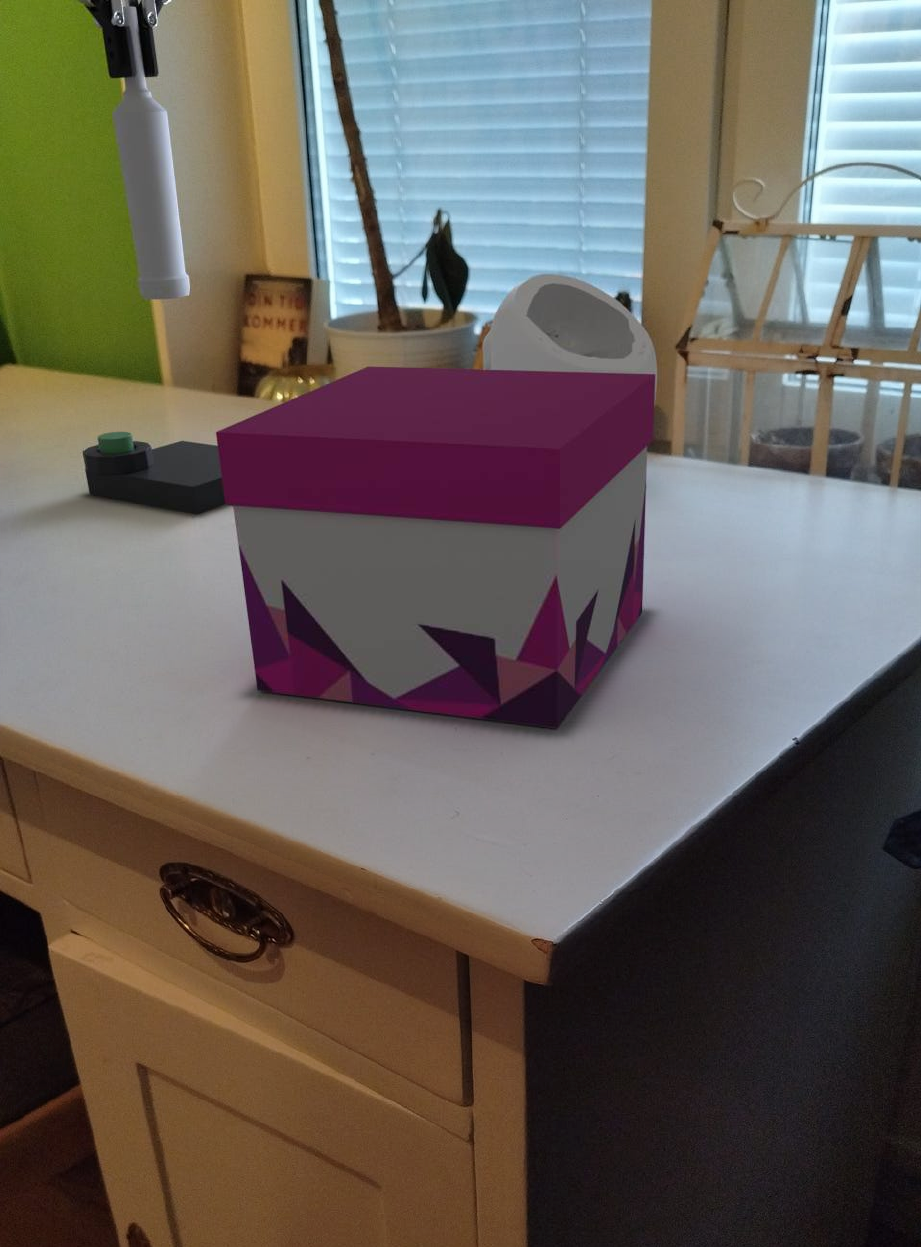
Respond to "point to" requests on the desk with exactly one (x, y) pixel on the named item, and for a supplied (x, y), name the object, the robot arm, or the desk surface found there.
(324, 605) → the decorative box
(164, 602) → the desk surface
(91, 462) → the black push button box
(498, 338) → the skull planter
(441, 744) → the desk surface
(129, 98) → the bottle
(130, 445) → the button
